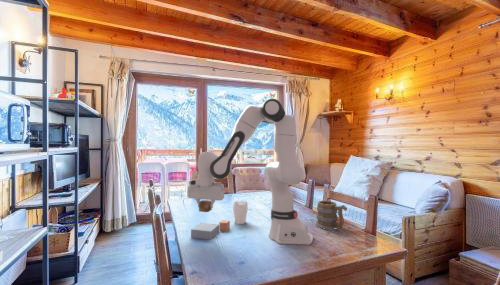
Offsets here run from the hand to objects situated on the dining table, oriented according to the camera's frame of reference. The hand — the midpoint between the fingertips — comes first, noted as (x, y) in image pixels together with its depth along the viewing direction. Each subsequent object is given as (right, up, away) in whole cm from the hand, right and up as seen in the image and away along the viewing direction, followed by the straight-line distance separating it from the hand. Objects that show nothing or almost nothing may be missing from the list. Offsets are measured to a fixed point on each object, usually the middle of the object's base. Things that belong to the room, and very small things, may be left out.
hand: (205, 207), depth 126 cm
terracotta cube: (+9, -15, +8) cm, 19 cm away
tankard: (+71, -15, +11) cm, 74 cm away
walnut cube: (0, -2, 0) cm, 2 cm away
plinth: (0, -14, 0) cm, 14 cm away
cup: (+18, -15, +20) cm, 31 cm away
